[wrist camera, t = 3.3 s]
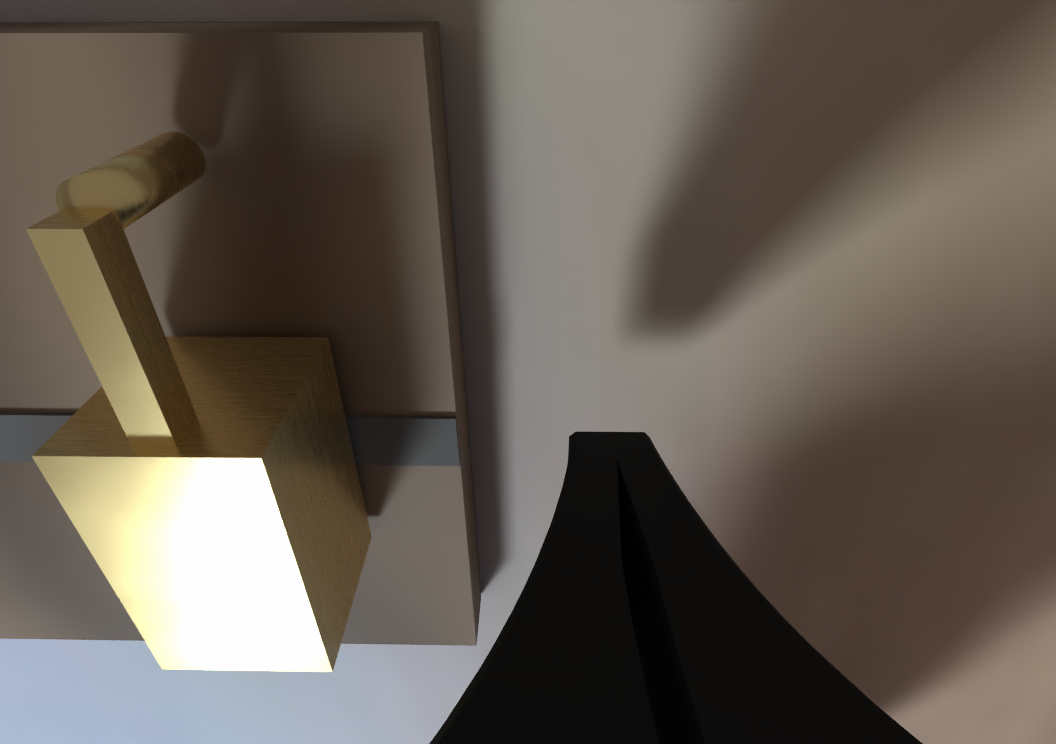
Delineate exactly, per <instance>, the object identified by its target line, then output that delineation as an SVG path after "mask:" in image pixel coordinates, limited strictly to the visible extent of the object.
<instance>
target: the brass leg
mask: <svg viewBox="0 0 1056 744" xmlns="http://www.w3.org/2000/svg"><path fill="white" fill-rule="evenodd" d="M205 168H206V161H205V157H204V154H203V152H202V150H201V149H200V147H199V146H198V145H197V143H196V142H195V141H193V140H192V139H191V138H190V137H188V136H186V135H184V134H182V133H179V132H173V131H170V132H165V133H163V134H161V135H158V136H156V137H154V138H152V139H150V140H148V141H146V142H144V143H142V144H140V145H138V146H135V147H133V148H131V149H129V150H127V151H125V152H123V153H121V154H119V155H117V156H115V157H113V158H110V159H108V160H106V161H104V162H102V163H100V164H98V165H96V166H94V167H92V168H90V169H87V170H85V171H83V172H81V173H79V174H77V175H75V176H73V177H71V178H69V179H67V180H65V181H63V182H62V183H61V184H60V185H59V186H58V188H57V190H56V203H57V207H58V209H59V211H58V212H56V213H55V214H53V215H51V216H49V217H47V218H45V219H43V220H41V221H40V222H38V223H36V224H34V225H32V226H30V227H28V228H27V229H26V230H27V232H28V235H29V237H30V239H31V241H32V243H33V245H34V247H35V249H36V251H37V253H38V255H39V257H40V259H41V261H42V263H43V265H44V267H45V269H46V272H47V274H48V276H49V278H50V280H51V282H52V284H53V286H54V288H55V290H56V292H57V294H58V296H59V298H60V300H61V302H62V304H63V307H64V309H65V311H66V313H67V315H68V317H69V319H70V321H71V323H72V325H73V327H74V329H75V331H76V333H77V335H78V337H79V339H80V342H81V344H82V346H83V348H84V350H85V352H86V354H87V356H88V358H89V360H90V362H91V364H92V366H93V368H94V370H95V372H96V374H97V377H98V379H99V381H100V383H101V385H102V387H101V388H100V389H99V390H98V391H97V392H96V393H95V394H94V395H93V396H92V397H91V398H90V399H89V400H88V401H87V402H86V403H85V404H84V405H83V406H82V407H81V408H80V409H79V410H78V411H77V412H75V413H74V414H73V415H72V416H71V417H70V418H69V419H68V420H67V421H66V422H65V423H64V424H63V425H62V426H61V427H60V428H59V429H58V430H57V431H56V432H55V433H54V434H53V435H52V436H51V437H50V438H49V439H48V440H47V441H46V442H45V443H44V444H43V445H42V446H41V447H40V448H39V449H38V450H37V451H36V452H35V453H34V454H33V455H32V458H33V459H34V461H35V463H36V464H37V466H38V468H39V469H40V471H41V472H42V474H43V476H44V477H45V479H46V481H47V482H48V484H49V485H50V487H51V489H52V490H53V492H54V494H55V495H56V497H57V499H58V500H59V502H60V503H61V505H62V507H63V508H64V510H65V512H66V513H67V515H68V516H69V518H70V520H71V521H72V523H73V525H74V526H75V528H76V529H77V531H78V533H79V534H80V536H81V538H82V539H83V541H84V542H85V544H86V546H87V547H88V549H89V551H90V552H91V554H92V555H93V557H94V559H95V560H96V562H97V564H98V565H99V567H100V568H101V570H102V572H103V573H104V575H105V577H106V578H107V580H108V582H109V583H110V585H111V586H112V588H113V590H114V591H115V593H116V595H117V596H118V598H119V599H120V601H121V603H122V604H123V606H124V608H125V609H126V611H127V612H128V614H129V616H130V617H131V619H132V621H133V622H134V624H135V625H136V627H137V629H138V630H139V632H140V634H141V635H142V637H143V638H144V640H145V642H146V643H147V645H148V647H149V648H150V650H151V651H152V653H153V655H154V656H155V658H156V660H157V661H158V663H159V665H160V666H161V668H162V669H176V670H240V671H304V672H333V668H334V665H335V662H336V658H337V655H338V651H339V648H340V644H341V641H342V637H343V634H344V631H345V627H346V624H347V620H348V617H349V613H350V610H351V606H352V603H353V600H354V596H355V593H356V589H357V586H358V582H359V579H360V575H361V572H362V569H363V565H364V562H365V558H366V555H367V551H368V548H369V544H370V541H371V538H372V536H371V532H370V527H369V522H368V518H367V513H366V509H365V504H364V499H363V495H362V490H361V486H360V481H359V477H358V472H357V467H356V463H355V458H354V454H353V449H352V444H351V440H350V435H349V431H348V426H347V422H346V417H345V412H344V408H343V403H342V399H341V394H340V389H339V385H338V380H337V376H336V371H335V367H334V362H333V357H332V353H331V348H330V344H329V339H328V338H323V337H169V336H165V334H164V331H163V329H162V326H161V324H160V321H159V319H158V316H157V314H156V311H155V308H154V306H153V303H152V301H151V298H150V296H149V293H148V291H147V288H146V285H145V283H144V280H143V278H142V275H141V273H140V270H139V268H138V265H137V263H136V260H135V257H134V255H133V252H132V250H131V247H130V245H129V242H128V240H127V237H126V234H125V232H124V229H125V228H126V227H128V226H129V225H131V224H132V223H134V222H135V221H137V220H138V219H140V218H141V217H143V216H144V215H146V214H147V213H149V212H150V211H152V210H153V209H155V208H156V207H158V206H159V205H161V204H162V203H164V202H165V201H167V200H168V199H170V198H171V197H173V196H174V195H176V194H177V193H179V192H180V191H182V190H183V189H185V188H186V187H188V186H189V185H191V184H192V183H194V182H195V181H197V180H198V179H200V178H201V177H202V176H203V174H204V172H205Z"/></svg>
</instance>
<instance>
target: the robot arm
mask: <svg viewBox="0 0 1056 744" xmlns="http://www.w3.org/2000/svg"><path fill="white" fill-rule="evenodd" d="M430 744H922V743H921V742H920V741H919V740H917V739H916V738H915V737H914V736H912V735H911V734H910V733H909V732H908V731H907V730H905V729H904V728H903V727H902V726H901V725H899V724H898V723H897V722H896V721H895V720H893V719H892V718H891V717H890V716H889V715H887V714H886V713H885V712H884V711H883V710H881V709H880V708H879V707H878V706H877V705H875V704H874V703H873V702H872V701H871V700H870V699H869V698H868V697H867V696H865V695H864V694H863V693H862V692H861V691H860V690H859V689H858V688H857V687H856V686H855V685H853V684H852V683H851V682H850V681H849V680H848V679H847V678H846V677H845V676H844V675H843V674H841V673H840V672H839V671H838V670H837V669H836V668H835V667H834V666H833V665H832V664H831V663H829V662H828V661H827V660H826V659H825V658H824V657H823V656H822V655H821V654H820V653H819V652H817V651H816V650H815V649H814V648H813V647H812V646H811V645H810V644H809V643H808V642H807V641H806V640H805V639H804V638H803V637H802V636H801V635H800V634H799V633H798V632H797V631H796V630H795V629H794V628H793V627H792V626H791V625H790V624H789V623H788V622H787V621H786V620H785V618H784V617H783V616H782V615H781V614H780V613H779V612H778V611H777V610H776V609H775V608H774V607H773V606H772V605H771V603H770V602H769V601H768V600H767V599H766V598H765V597H764V596H763V595H762V594H761V593H760V591H759V590H758V589H757V588H756V587H755V586H754V585H753V583H752V582H751V581H750V580H749V579H748V578H747V576H746V575H745V574H744V573H743V572H742V571H741V569H740V568H739V567H738V566H737V564H736V563H735V562H734V561H733V560H732V558H731V557H730V556H729V555H728V553H727V552H726V551H725V550H724V548H723V547H722V546H721V545H720V543H719V542H718V541H717V539H716V538H715V537H714V535H713V534H712V533H711V531H710V530H709V529H708V527H707V526H706V525H705V523H704V522H703V520H702V519H701V518H700V516H699V515H698V513H697V512H696V511H695V509H694V508H693V506H692V505H691V504H690V502H689V501H688V499H687V498H686V496H685V495H684V493H683V492H682V490H681V489H680V487H679V486H678V484H677V483H676V481H675V480H674V478H673V476H672V475H671V473H670V472H669V470H668V469H667V467H666V465H665V464H664V462H663V460H662V459H661V457H660V455H659V453H658V452H657V450H656V448H655V446H654V445H653V443H652V441H651V439H650V437H649V436H648V435H647V434H646V433H645V432H575V433H573V434H572V435H571V436H569V453H568V465H567V470H566V475H565V479H564V483H563V487H562V491H561V494H560V497H559V500H558V503H557V507H556V510H555V513H554V516H553V519H552V522H551V525H550V528H549V530H548V533H547V535H546V538H545V540H544V543H543V545H542V548H541V550H540V553H539V555H538V558H537V560H536V563H535V565H534V567H533V569H532V572H531V574H530V576H529V578H528V580H527V582H526V585H525V587H524V589H523V591H522V593H521V595H520V597H519V599H518V601H517V603H516V605H515V607H514V609H513V611H512V613H511V615H510V616H509V618H508V620H507V622H506V624H505V625H504V627H503V629H502V631H501V633H500V635H499V636H498V638H497V640H496V642H495V644H494V645H493V647H492V649H491V651H490V652H489V654H488V656H487V657H486V659H485V661H484V662H483V664H482V666H481V667H480V669H479V671H478V672H477V674H476V675H475V677H474V678H473V680H472V681H471V683H470V684H469V686H468V688H467V689H466V691H465V692H464V694H463V695H462V697H461V698H460V700H459V701H458V703H457V705H456V706H455V708H454V709H453V711H452V712H451V714H450V715H449V717H448V718H447V720H446V721H445V723H444V724H443V726H442V727H441V728H440V730H439V731H438V733H437V734H436V735H435V737H434V738H433V740H432V741H431V742H430Z"/></svg>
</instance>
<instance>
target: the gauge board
mask: <svg viewBox="0 0 1056 744" xmlns="http://www.w3.org/2000/svg"><path fill="white" fill-rule="evenodd" d="M170 131H173V132H179V133H182V134H184V135H186V136H188V137H190V138H191V139H192V140H193V141H195V142H196V143H197V145H198V146H199V147H200V149H201V150H202V152H203V154H204V157H205V161H206V168H205V172H204V174H203V176H202V177H201V178H200V179H198V180H197V181H195V182H194V183H192V184H191V185H189V186H188V187H186V188H185V189H183V190H182V191H180V192H179V193H177V194H176V195H174V196H173V197H171V198H170V199H168V200H167V201H165V202H164V203H162V204H161V205H159V206H158V207H156V208H155V209H153V210H152V211H150V212H149V213H147V214H146V215H144V216H143V217H141V218H140V219H138V220H137V221H135V222H134V223H132V224H131V225H129V226H128V227H126V228H125V229H124V232H125V234H126V237H127V240H128V242H129V245H130V247H131V250H132V252H133V255H134V257H135V260H136V263H137V265H138V268H139V270H140V273H141V275H142V278H143V280H144V283H145V285H146V288H147V291H148V293H149V296H150V298H151V301H152V303H153V306H154V308H155V311H156V314H157V316H158V319H159V321H160V324H161V326H162V329H163V331H164V334H165V336H169V337H323V338H328V339H329V344H330V348H331V353H332V357H333V362H334V367H335V371H336V376H337V380H338V385H339V389H340V394H341V399H342V403H343V408H344V412H345V417H346V422H347V426H348V431H349V435H350V440H351V444H352V449H353V454H354V458H355V463H356V467H357V472H358V477H359V481H360V486H361V490H362V495H363V499H364V504H365V509H366V513H367V518H368V522H369V527H370V532H371V536H372V538H371V541H370V544H369V548H368V551H367V555H366V558H365V562H364V565H363V569H362V572H361V575H360V579H359V582H358V586H357V589H356V593H355V596H354V600H353V603H352V606H351V610H350V613H349V617H348V620H347V624H346V627H345V631H344V634H343V637H342V641H341V643H343V644H410V645H477V634H478V623H479V613H480V602H481V588H480V574H479V561H478V548H477V534H476V521H475V508H474V494H473V481H472V467H471V454H470V441H469V427H468V414H467V401H466V387H465V374H464V361H463V347H462V334H461V321H460V307H459V294H458V281H457V267H456V254H455V241H454V227H453V214H452V200H451V187H450V174H449V160H448V147H447V134H446V120H445V107H444V94H443V80H442V67H441V54H440V40H439V27H438V22H97V23H0V638H7V639H74V640H141V641H145V640H144V638H143V637H142V635H141V634H140V632H139V630H138V629H137V627H136V625H135V624H134V622H133V621H132V619H131V617H130V616H129V614H128V612H127V611H126V609H125V608H124V606H123V604H122V603H121V601H120V599H119V598H118V596H117V595H116V593H115V591H114V590H113V588H112V586H111V585H110V583H109V582H108V580H107V578H106V577H105V575H104V573H103V572H102V570H101V568H100V567H99V565H98V564H97V562H96V560H95V559H94V557H93V555H92V554H91V552H90V551H89V549H88V547H87V546H86V544H85V542H84V541H83V539H82V538H81V536H80V534H79V533H78V531H77V529H76V528H75V526H74V525H73V523H72V521H71V520H70V518H69V516H68V515H67V513H66V512H65V510H64V508H63V507H62V505H61V503H60V502H59V500H58V499H57V497H56V495H55V494H54V492H53V490H52V489H51V487H50V485H49V484H48V482H47V481H46V479H45V477H44V476H43V474H42V472H41V471H40V469H39V468H38V466H37V464H36V463H35V461H34V459H33V458H32V455H33V454H34V453H35V452H36V451H37V450H38V449H39V448H40V447H41V446H42V445H43V444H44V443H45V442H46V441H47V440H48V439H49V438H50V437H51V436H52V435H53V434H54V433H55V432H56V431H57V430H58V429H59V428H60V427H61V426H62V425H63V424H64V423H65V422H66V421H67V420H68V419H69V418H70V417H71V416H72V415H73V414H74V413H75V412H77V411H78V410H79V409H80V408H81V407H82V406H83V405H84V404H85V403H86V402H87V401H88V400H89V399H90V398H91V397H92V396H93V395H94V394H95V393H96V392H97V391H98V390H99V389H100V388H101V387H102V385H101V383H100V381H99V379H98V377H97V374H96V372H95V370H94V368H93V366H92V364H91V362H90V360H89V358H88V356H87V354H86V352H85V350H84V348H83V346H82V344H81V342H80V339H79V337H78V335H77V333H76V331H75V329H74V327H73V325H72V323H71V321H70V319H69V317H68V315H67V313H66V311H65V309H64V307H63V304H62V302H61V300H60V298H59V296H58V294H57V292H56V290H55V288H54V286H53V284H52V282H51V280H50V278H49V276H48V274H47V272H46V269H45V267H44V265H43V263H42V261H41V259H40V257H39V255H38V253H37V251H36V249H35V247H34V245H33V243H32V241H31V239H30V237H29V235H28V232H27V230H26V229H27V228H28V227H30V226H32V225H34V224H36V223H38V222H40V221H41V220H43V219H45V218H47V217H49V216H51V215H53V214H55V213H56V212H58V211H59V209H58V207H57V203H56V190H57V188H58V186H59V185H60V184H61V183H62V182H63V181H65V180H67V179H69V178H71V177H73V176H75V175H77V174H79V173H81V172H83V171H85V170H87V169H90V168H92V167H94V166H96V165H98V164H100V163H102V162H104V161H106V160H108V159H110V158H113V157H115V156H117V155H119V154H121V153H123V152H125V151H127V150H129V149H131V148H133V147H135V146H138V145H140V144H142V143H144V142H146V141H148V140H150V139H152V138H154V137H156V136H158V135H161V134H163V133H165V132H170Z"/></svg>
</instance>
